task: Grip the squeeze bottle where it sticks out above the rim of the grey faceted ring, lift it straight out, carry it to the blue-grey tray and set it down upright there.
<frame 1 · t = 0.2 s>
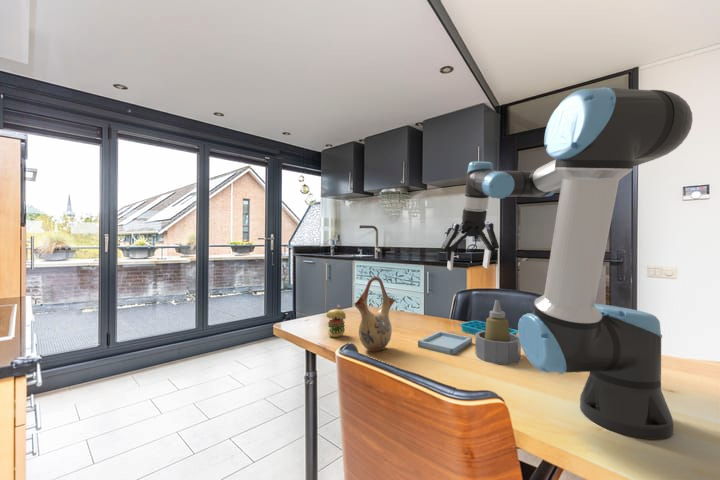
hand: (467, 268, 114), 27 cm above the table, tool tilted 15°, fingers open, 13 cm apart
hamburger: (336, 336, 128), on the table
ceramic vessel: (375, 350, 111), on the table
grey faceted ring: (497, 356, 104), on the table
tray: (445, 344, 116), on the table
squeeze bottle: (497, 357, 104), resting in grey faceted ring
ice cube tray: (488, 335, 129), on the table
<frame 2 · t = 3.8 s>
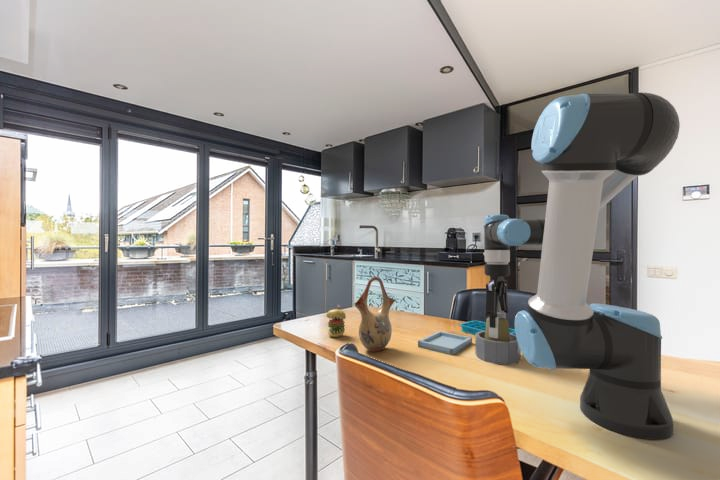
hand: (497, 334, 104), 7 cm above the table, tool pointing down, fingers closed on squeeze bottle, 6 cm apart
squeeze bottle: (497, 357, 104), resting in grey faceted ring, touching gripper
everything else where it was.
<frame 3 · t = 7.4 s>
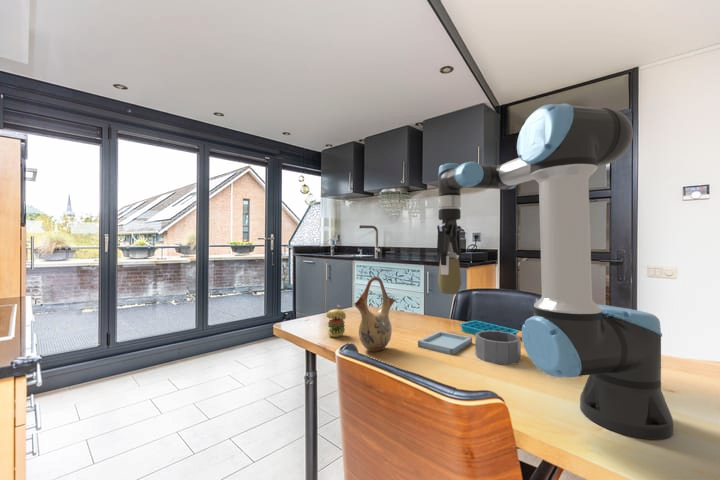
hand: (449, 273, 115), 26 cm above the table, tool pointing down, fingers closed on squeeze bottle, 6 cm apart
squeeze bottle: (449, 293, 115), point 18 cm above the table, touching gripper
everything else where it was.
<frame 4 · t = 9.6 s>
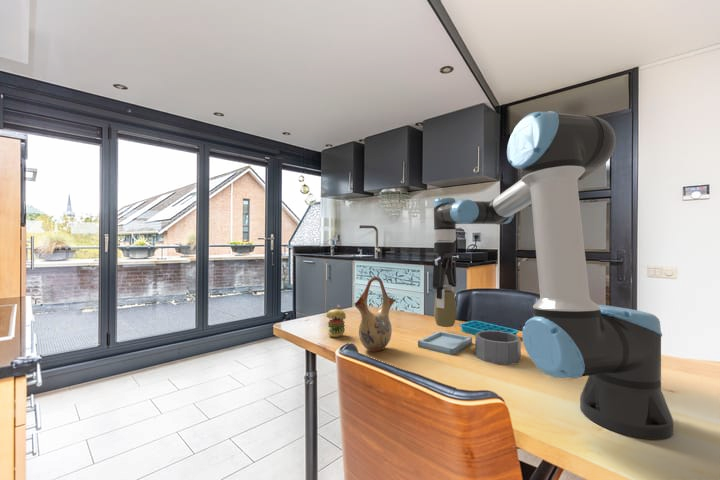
hand: (445, 306, 116), 14 cm above the table, tool pointing down, fingers closed on squeeze bottle, 6 cm apart
squeeze bottle: (445, 325, 116), point 7 cm above the table, touching gripper
everything else where it was.
when the fingers open (9 cm above the table, at t = 11.3 s): squeeze bottle drops 2 cm, resting on tray.
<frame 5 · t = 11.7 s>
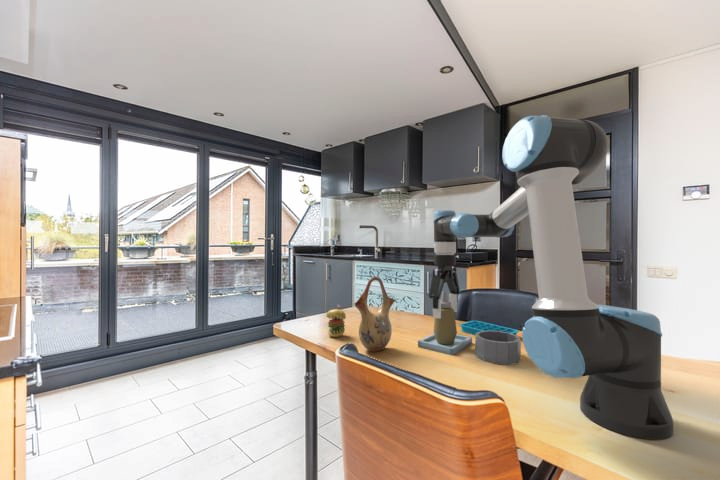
hand: (445, 314, 116), 11 cm above the table, tool pointing down, fingers open, 12 cm apart
squeeze bottle: (445, 343, 116), point 1 cm above the table, touching tray
everything else where it was.
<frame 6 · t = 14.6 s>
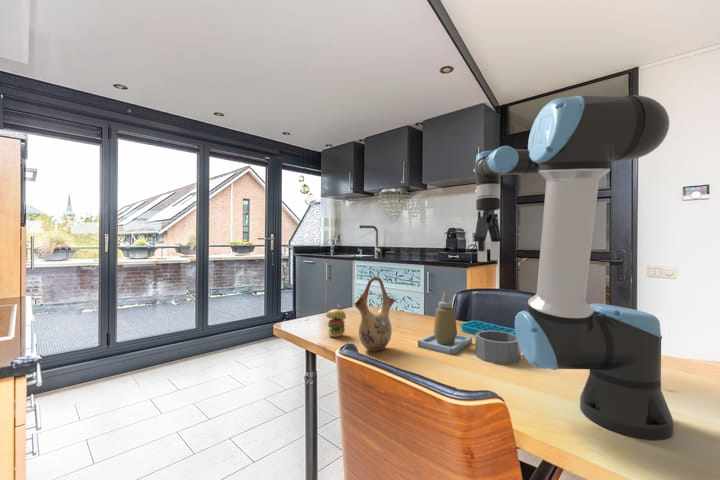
hand: (488, 261, 110), 30 cm above the table, tool pointing down, fingers open, 13 cm apart
nothing on the table moved.
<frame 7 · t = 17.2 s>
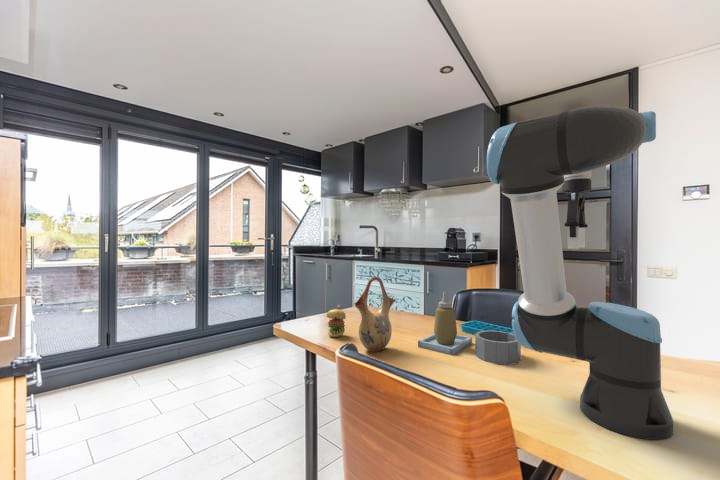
hand: (576, 248, 100), 35 cm above the table, tool pointing down, fingers open, 13 cm apart
nothing on the table moved.
at the end: squeeze bottle inside the target area on the tray (0.1 cm from its centre), point 0.6 cm above the tray's base; squeeze bottle tilted 0°; the gripper is holding nothing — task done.
